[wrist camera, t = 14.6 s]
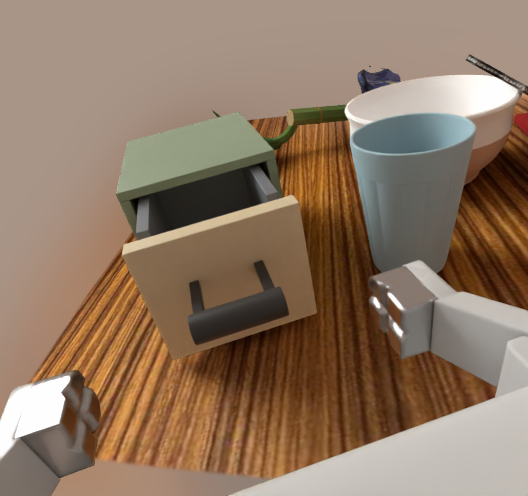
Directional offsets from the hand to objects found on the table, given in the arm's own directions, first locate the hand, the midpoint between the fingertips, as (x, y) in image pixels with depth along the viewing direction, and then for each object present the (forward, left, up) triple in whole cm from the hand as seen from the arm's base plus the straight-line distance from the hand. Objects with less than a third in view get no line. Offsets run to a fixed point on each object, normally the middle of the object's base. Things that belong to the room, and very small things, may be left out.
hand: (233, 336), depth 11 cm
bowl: (+34, +12, -12) cm, 38 cm away
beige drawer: (+8, +13, -11) cm, 19 cm away
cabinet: (+13, +22, -12) cm, 28 cm away
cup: (+20, +6, -12) cm, 24 cm away
